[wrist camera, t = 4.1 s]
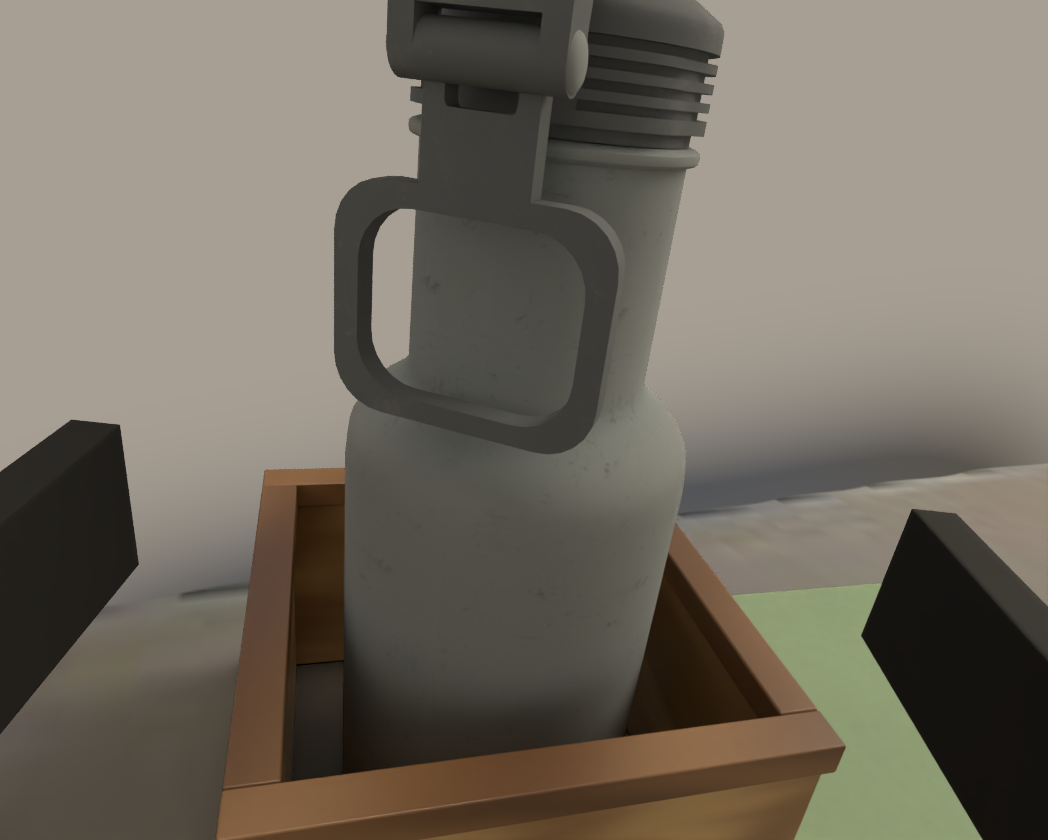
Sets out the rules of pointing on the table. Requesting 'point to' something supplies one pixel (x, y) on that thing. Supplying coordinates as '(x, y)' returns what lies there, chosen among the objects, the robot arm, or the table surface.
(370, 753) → the water bottle
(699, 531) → the table surface
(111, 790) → the table surface
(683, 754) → the wooden box
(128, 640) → the table surface
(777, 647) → the desk mat
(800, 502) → the table surface
